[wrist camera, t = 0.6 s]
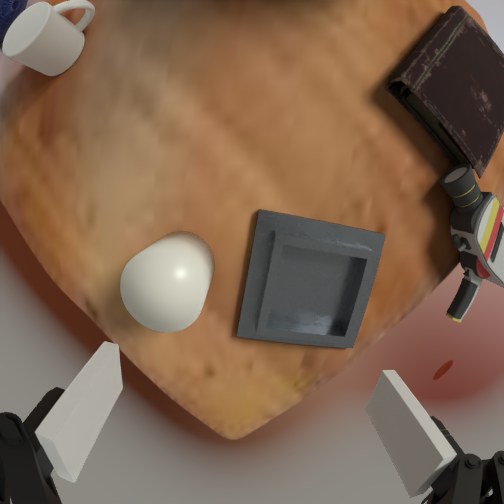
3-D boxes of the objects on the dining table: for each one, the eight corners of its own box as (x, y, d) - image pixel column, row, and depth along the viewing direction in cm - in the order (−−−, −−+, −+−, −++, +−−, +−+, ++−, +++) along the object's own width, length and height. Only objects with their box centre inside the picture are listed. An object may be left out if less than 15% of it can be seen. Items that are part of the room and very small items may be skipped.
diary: (380, 85, 31) (397, 73, 26) (443, 12, 27) (458, 1, 22) (464, 182, 33) (485, 183, 28) (509, 91, 30) (526, 87, 25)
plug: (154, 226, 34) (122, 242, 24) (219, 236, 34) (209, 257, 24) (148, 288, 35) (119, 322, 26) (210, 299, 36) (199, 339, 26)
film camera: (388, 224, 35) (453, 161, 33) (443, 320, 38) (498, 259, 36) (413, 231, 29) (482, 158, 26) (466, 338, 31) (524, 269, 29)
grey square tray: (258, 209, 34) (260, 211, 30) (382, 233, 35) (394, 238, 31) (236, 332, 37) (236, 346, 34) (350, 344, 38) (358, 357, 35)
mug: (-3, 37, 17) (65, -27, 16) (36, 57, 27) (94, 5, 26) (7, 69, 18) (82, -4, 17) (50, 87, 29) (114, 31, 27)
